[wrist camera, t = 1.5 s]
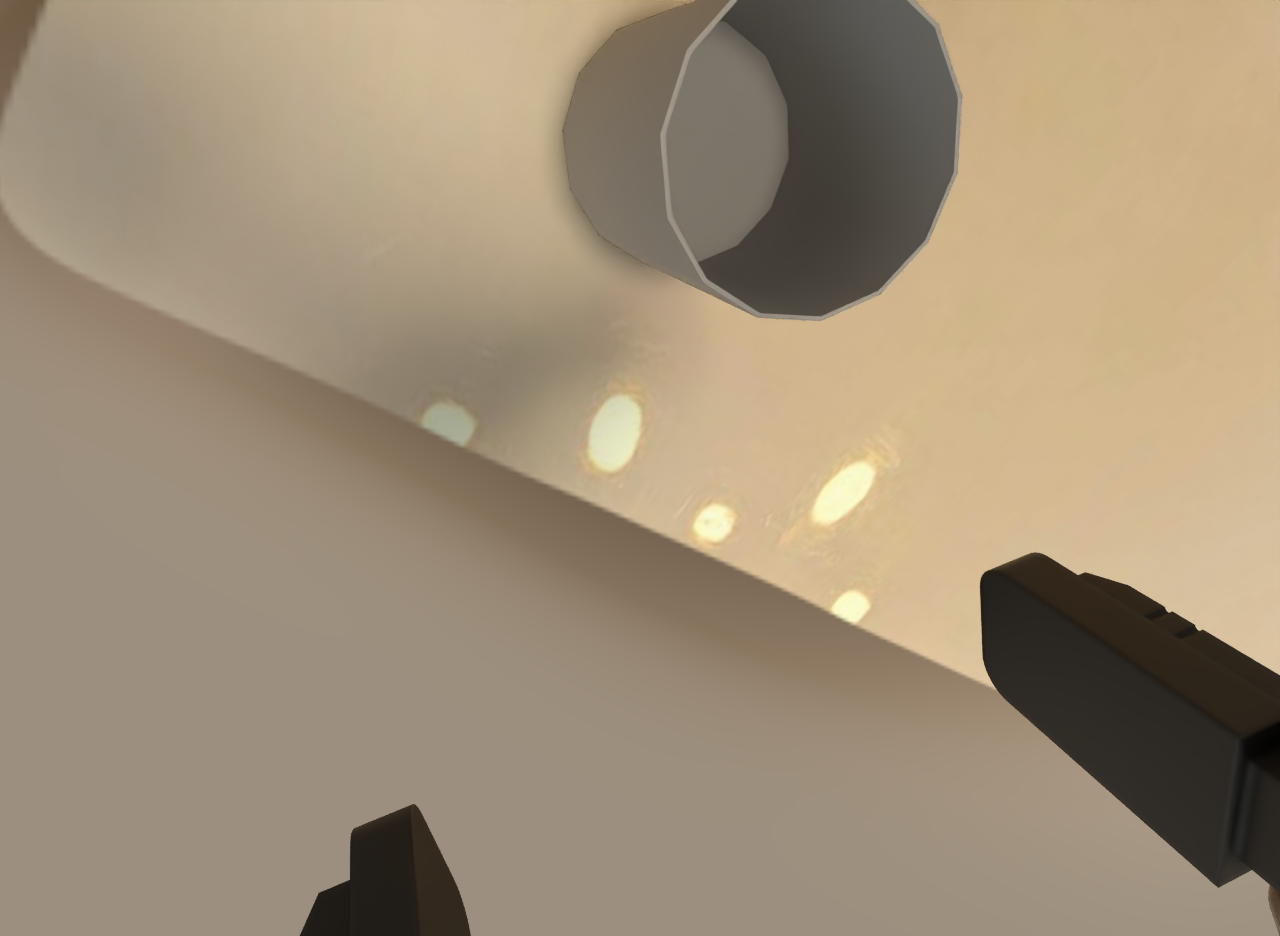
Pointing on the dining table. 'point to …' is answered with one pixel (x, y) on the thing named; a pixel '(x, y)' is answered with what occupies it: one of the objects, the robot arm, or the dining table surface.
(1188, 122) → the dining table surface
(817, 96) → the cup
